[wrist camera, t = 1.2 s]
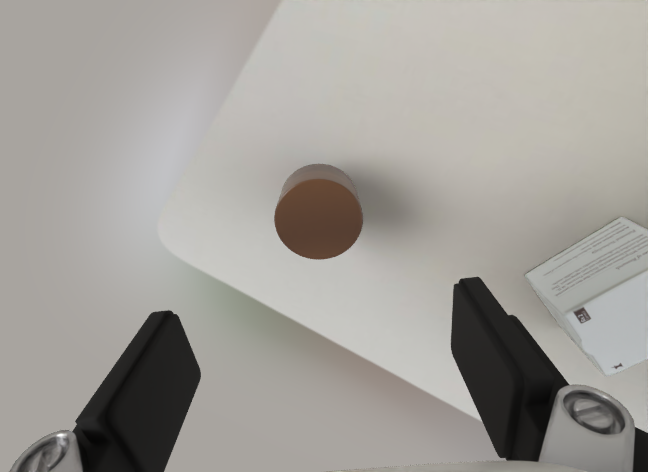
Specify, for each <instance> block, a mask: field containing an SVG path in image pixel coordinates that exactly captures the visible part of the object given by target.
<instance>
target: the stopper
mask: <svg viewBox="0 0 648 472" xmlns="http://www.w3.org/2000/svg"><path fill="white" fill-rule="evenodd" d="M274 221H275V227H276V231H277V233H278V236H279V237H280V239H281V241H282V242H283V243H284V244H285V245H286V246H287V247H288V248H289V249H290V250H291V251H293V252H294V253H296V254H298V255H300V256H303V257H306V258H310V259H328V258H332V257H335V256H338V255H340V254H342V253H343V252H345V251H346V250H348V249H349V248H350V247H351V246H352V245H353V244H354V243H355V241H356V240H357V238H358V237H359V235H360V232H361V229H362V224H363V214H362V209H361V205H360V201H359V197H358V194H357V190H356V187H355V185H354V183H353V182H352V180H351V179H350V178H349V177H348V175H346V174H345V173H344V172H343V171H341V170H340V169H338V168H336V167H333V166H330V165H326V164H312V165H308V166H305V167H302V168H300V169H298V170H297V171H295V172H294V173H293V174H292V175H291V176H290V177H289V178H288V179H287V181H286V182H285V184H284V186H283V188H282V191H281V194H280V197H279V200H278V203H277V207H276V210H275V217H274Z"/></svg>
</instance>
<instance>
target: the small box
mask: <svg viewBox="0 0 648 472" xmlns="http://www.w3.org/2000/svg"><path fill="white" fill-rule="evenodd" d="M525 278H526V279H527V281H528V282H529V283H530V285H531V286H532V288H533V289H534V291H535V292H536V293H537V295H538V296H539V298H540V299H541V300H542V302H543V303H544V305H545V306H546V307H547V309H548V310H549V311H550V313H551V314H552V316H553V317H554V318H555V320H556V321H557V322H558V324H559V325H560V326H561V328H562V329H563V330H564V332H565V333H566V334H567V335H568V336H569V337H570V338H571V339H572V340H573V342H574V343H575V344H576V345H577V346H578V347H579V348H580V349H581V351H582V352H583V353H584V354H585V355H586V356H587V357H588V358H589V359H590V361H591V362H592V363H593V364H594V365H595V366H596V367H597V368H598V369H599V371H600V372H601V373H602V374H603V375H604V376H611V375H613V374H616V373H618V372H621V371H623V370H625V369H627V368H629V367H632V366H634V365H636V364H638V363H640V362H642V361H644V360H646V359H648V229H646V228H644V227H642V226H640V225H638V224H636V223H634V222H632V221H630V220H629V219H627V218H625V217H620V218H618V219H616V220H615V221H613V222H611V223H610V224H608V225H606V226H605V227H603V228H601V229H599V230H598V231H596V232H594V233H593V234H591V235H589V236H588V237H586V238H584V239H583V240H581V241H579V242H578V243H576V244H575V245H573V246H571V247H569V248H568V249H566V250H564V251H563V252H561V253H559V254H558V255H556V256H554V257H553V258H551V259H549V260H548V261H546V262H544V263H543V264H541V265H539V266H538V267H536V268H534V269H533V270H531V271H530V272H528V273H527V274H525Z"/></svg>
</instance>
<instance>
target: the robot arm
mask: <svg viewBox="0 0 648 472" xmlns="http://www.w3.org/2000/svg"><path fill="white" fill-rule="evenodd" d="M451 350H452V354H453V357H454V359H455V361H456V364H457V366H458V368H459V370H460V372H461V375H462V377H463V379H464V381H465V384H466V386H467V388H468V390H469V392H470V395H471V397H472V399H473V401H474V404H475V406H476V408H477V410H478V412H479V415H480V417H481V419H482V421H483V424H484V426H485V428H486V430H487V432H488V435H489V437H490V439H491V441H492V444H493V446H494V448H495V450H496V452H497V454H498V456H499V457H500V458H506V460H507V461H477V462H458V463H440V464H424V465H412V466H411V465H410V466H398V467H397V466H396V467H384V468H370V469H355V470H341V471H329V472H648V433H647V432H644V431H642V430H640V429H638V428H636V427H635V425H634V420H633V418H632V416H631V415H630V413H629V411H628V410H627V409H626V408H625V407H624V406H623V405H622V404H621V403H620V402H619V401H618V400H616V399H615V398H613V397H612V396H610V395H609V394H607V393H605V392H603V391H601V390H599V389H596V388H593V387H589V386H586V385H569V384H568V382H567V381H566V380H565V379H564V377H563V376H562V375H561V373H560V372H559V371H558V370H557V368H556V367H555V366H554V364H553V363H552V362H551V361H550V359H549V358H548V357H547V355H546V354H545V353H544V351H543V350H542V349H541V348H540V346H539V345H538V344H537V342H536V341H535V340H534V339H533V337H532V336H531V335H530V333H529V332H528V331H527V330H526V328H525V327H524V326H523V324H522V323H521V322H520V321H519V319H518V318H517V317H516V316H514V315H507V313H506V312H505V311H504V309H503V308H502V307H501V305H500V304H499V303H498V301H497V300H496V299H495V297H494V296H493V295H492V293H491V292H490V291H489V289H488V288H487V286H486V285H485V284H484V282H483V281H482V280H481V279H480V278H479V277H473V278H464V279H460V281H459V284H454V291H453V312H452V333H451ZM200 377H201V372H200V368H199V366H198V364H197V361H196V359H195V356H194V353H193V351H192V348H191V346H190V343H189V341H188V339H187V336H186V334H185V331H184V329H183V326H182V324H181V322H180V319H179V317H178V315H177V314H173V312H172V311H159V312H153V313H151V314H150V315H149V317H148V318H147V320H146V321H145V323H144V324H143V325H142V327H141V328H140V330H139V331H138V333H137V334H136V336H135V337H134V338H133V340H132V341H131V343H130V344H129V345H128V347H127V348H126V350H125V351H124V353H123V354H122V355H121V357H120V358H119V360H118V361H117V362H116V364H115V365H114V367H113V368H112V370H111V371H110V372H109V374H108V375H107V377H106V378H105V380H104V381H103V382H102V384H101V385H100V387H99V388H98V390H97V391H96V392H95V394H94V395H93V397H92V398H91V400H90V401H89V403H88V404H87V405H86V407H85V408H84V410H83V411H82V412H81V414H80V415H79V417H78V418H77V419H76V421H75V422H76V423H77V425H76V427H75V429H74V430H73V431H72V432H71V431H69V430H61V431H57V432H54V433H51V434H49V435H47V436H45V437H43V438H41V439H40V440H38V441H37V442H35V443H34V444H32V445H31V446H30V447H29V448H28V449H27V450H25V451H24V452H23V453H22V454H21V456H20V457H19V458H18V459H17V460H16V461H15V463H14V465H13V466H12V468H11V470H10V472H164V470H165V467H166V465H167V462H168V460H169V457H170V455H171V452H172V450H173V447H174V445H175V442H176V440H177V437H178V435H179V432H180V429H181V427H182V424H183V422H184V419H185V417H186V414H187V412H188V409H189V407H190V404H191V402H192V399H193V397H194V394H195V392H196V389H197V386H198V383H199V381H200Z"/></svg>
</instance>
